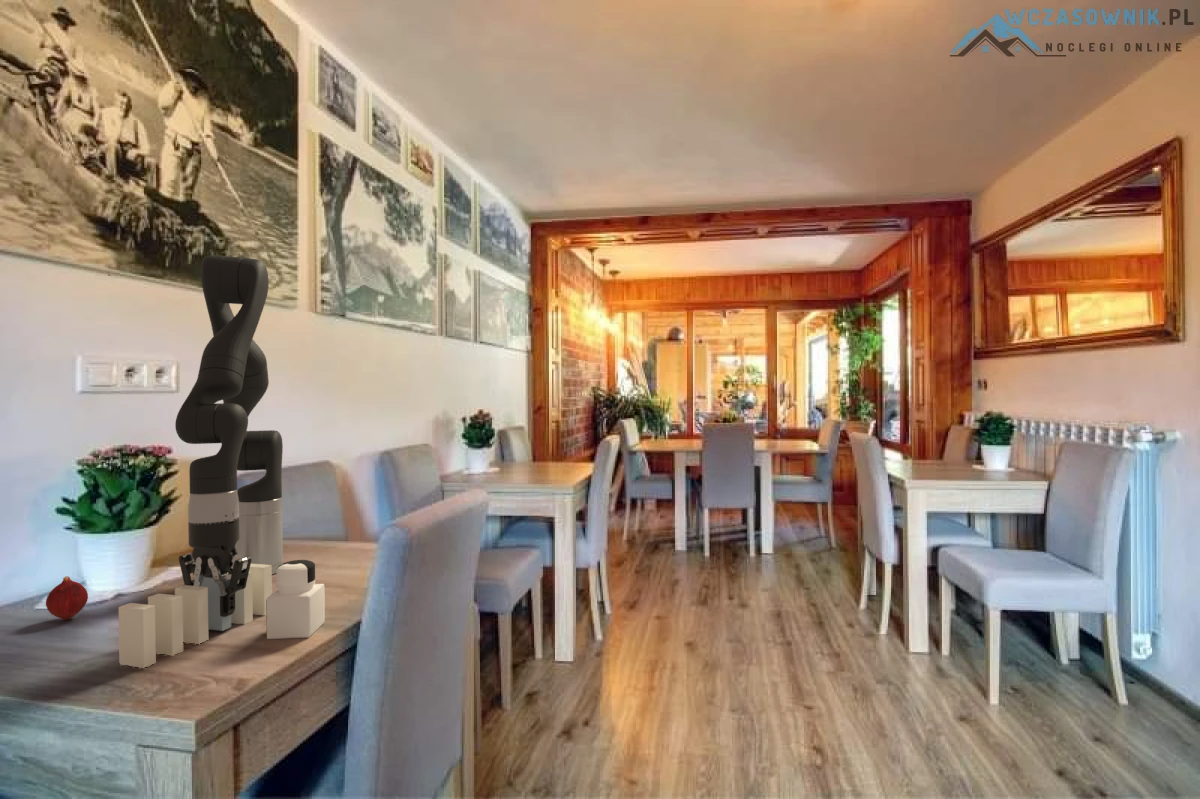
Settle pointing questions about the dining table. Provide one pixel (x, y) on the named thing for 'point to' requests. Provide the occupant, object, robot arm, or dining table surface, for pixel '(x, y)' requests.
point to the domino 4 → (215, 605)
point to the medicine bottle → (295, 602)
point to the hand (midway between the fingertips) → (215, 613)
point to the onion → (66, 599)
